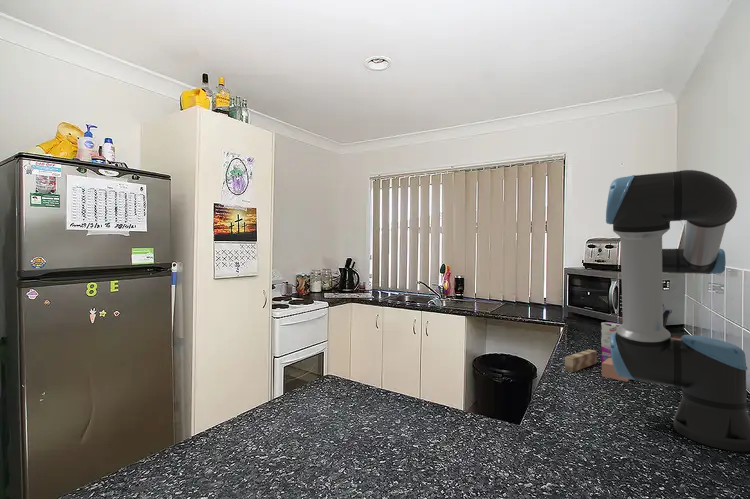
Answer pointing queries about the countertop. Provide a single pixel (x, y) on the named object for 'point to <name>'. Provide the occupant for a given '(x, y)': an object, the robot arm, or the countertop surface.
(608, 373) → the block
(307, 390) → the countertop surface
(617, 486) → the countertop surface
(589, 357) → the board
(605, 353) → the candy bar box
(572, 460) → the countertop surface
